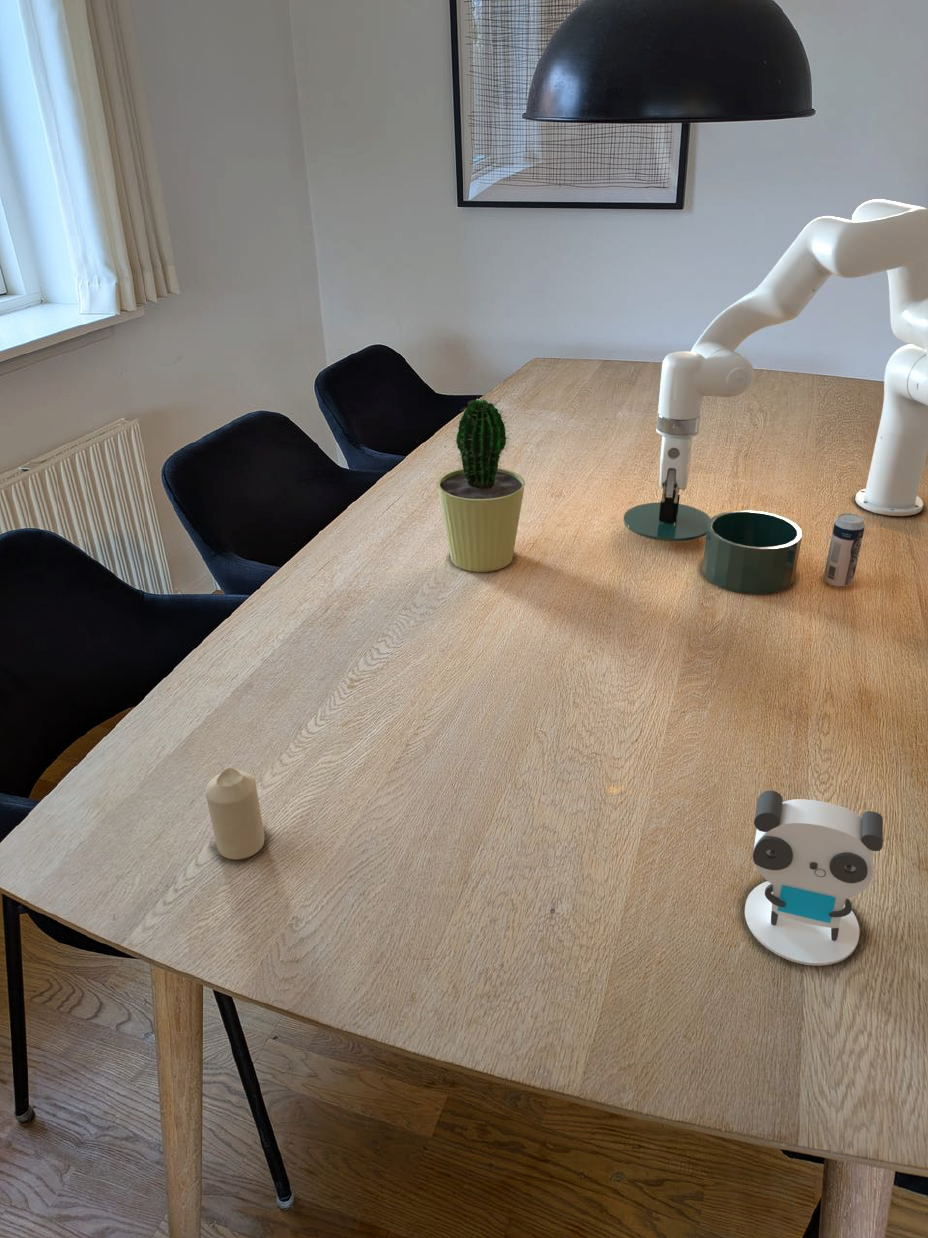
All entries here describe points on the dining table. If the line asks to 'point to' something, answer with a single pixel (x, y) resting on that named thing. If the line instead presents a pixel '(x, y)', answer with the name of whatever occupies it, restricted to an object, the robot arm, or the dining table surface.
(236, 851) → the candle
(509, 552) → the potted cactus
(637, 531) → the lid
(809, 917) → the panda figurine
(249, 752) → the dining table surface
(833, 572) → the beer can
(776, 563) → the pot
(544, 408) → the dining table surface
